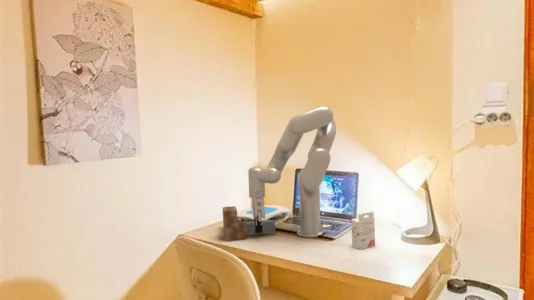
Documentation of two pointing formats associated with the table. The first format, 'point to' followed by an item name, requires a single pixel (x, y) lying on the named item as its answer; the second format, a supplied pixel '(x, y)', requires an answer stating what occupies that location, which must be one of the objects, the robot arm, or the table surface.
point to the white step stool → (267, 213)
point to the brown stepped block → (233, 225)
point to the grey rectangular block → (266, 226)
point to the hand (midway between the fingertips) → (258, 231)
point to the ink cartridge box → (363, 231)
